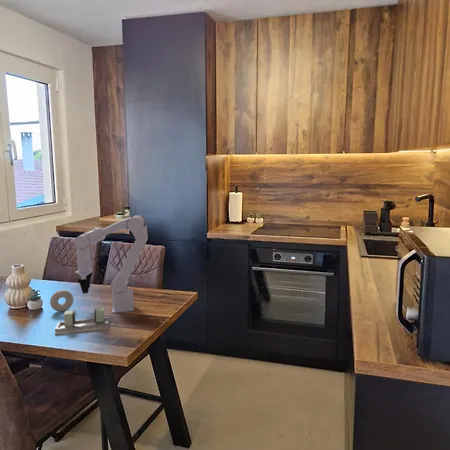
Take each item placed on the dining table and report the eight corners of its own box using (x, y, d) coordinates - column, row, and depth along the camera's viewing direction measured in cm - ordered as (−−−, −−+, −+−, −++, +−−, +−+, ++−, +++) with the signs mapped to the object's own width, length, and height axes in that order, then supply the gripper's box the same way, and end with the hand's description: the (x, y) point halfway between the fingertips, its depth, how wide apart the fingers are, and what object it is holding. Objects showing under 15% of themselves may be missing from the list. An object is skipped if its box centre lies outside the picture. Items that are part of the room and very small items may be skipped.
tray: (109, 320, 170) (107, 304, 169) (108, 329, 161) (106, 312, 160) (58, 325, 165) (57, 309, 164) (55, 334, 157) (53, 317, 156)
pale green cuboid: (65, 328, 160) (63, 314, 159) (66, 325, 164) (65, 311, 163) (74, 327, 161) (73, 313, 160) (75, 324, 164) (74, 310, 164)
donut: (51, 314, 178) (49, 293, 176) (50, 312, 181) (48, 291, 179) (74, 310, 183) (73, 289, 181) (73, 308, 186) (71, 287, 184)
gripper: (76, 258, 185) (78, 286, 187) (72, 265, 171) (74, 296, 173) (92, 257, 187) (94, 285, 189) (89, 264, 173) (92, 294, 175)
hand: (86, 290), depth 181 cm, fingers open, 7 cm apart
